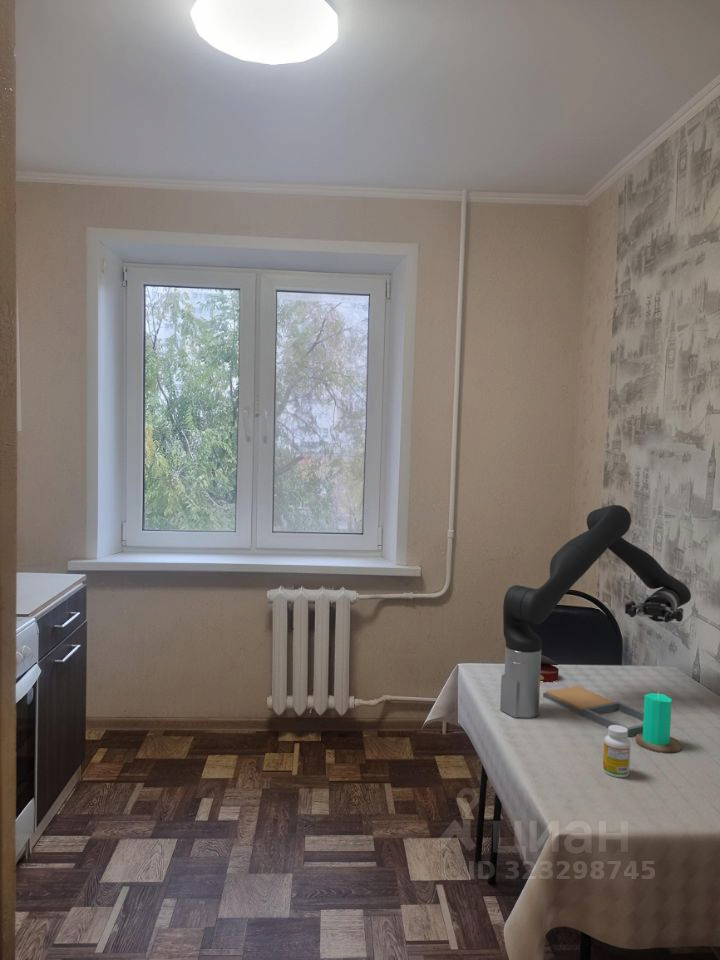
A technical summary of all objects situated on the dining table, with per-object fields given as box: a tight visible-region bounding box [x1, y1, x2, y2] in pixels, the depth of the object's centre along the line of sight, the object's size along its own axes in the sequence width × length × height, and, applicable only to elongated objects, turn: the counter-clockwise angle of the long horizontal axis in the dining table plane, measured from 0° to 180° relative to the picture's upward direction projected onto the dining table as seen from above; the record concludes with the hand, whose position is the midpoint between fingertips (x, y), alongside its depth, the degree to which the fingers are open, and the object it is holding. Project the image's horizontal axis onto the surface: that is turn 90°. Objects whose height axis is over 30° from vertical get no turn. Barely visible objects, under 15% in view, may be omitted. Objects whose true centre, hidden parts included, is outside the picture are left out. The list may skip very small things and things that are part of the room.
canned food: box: [540, 654, 559, 683], centre depth 216 cm, size 11×10×10 cm
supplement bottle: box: [602, 725, 631, 778], centre depth 153 cm, size 5×5×10 cm
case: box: [542, 685, 644, 738], centre depth 189 cm, size 13×30×2 cm, turn 27°
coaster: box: [635, 733, 682, 754], centre depth 169 cm, size 10×10×1 cm
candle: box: [642, 690, 673, 745], centre depth 169 cm, size 6×6×12 cm
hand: (648, 615), depth 186 cm, fingers open, 8 cm apart
